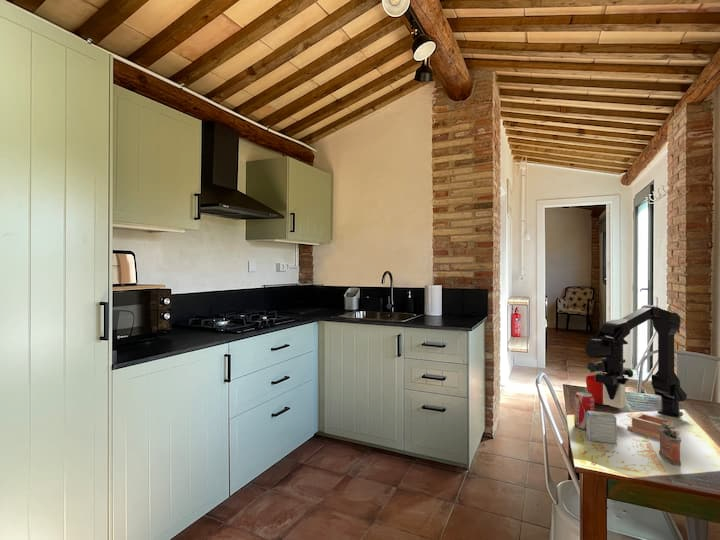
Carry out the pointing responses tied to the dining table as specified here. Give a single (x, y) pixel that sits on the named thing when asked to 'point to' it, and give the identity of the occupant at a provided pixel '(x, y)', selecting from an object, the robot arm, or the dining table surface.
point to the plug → (618, 399)
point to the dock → (649, 424)
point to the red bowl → (595, 389)
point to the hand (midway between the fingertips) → (614, 398)
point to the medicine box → (601, 426)
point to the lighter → (669, 445)
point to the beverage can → (582, 408)
